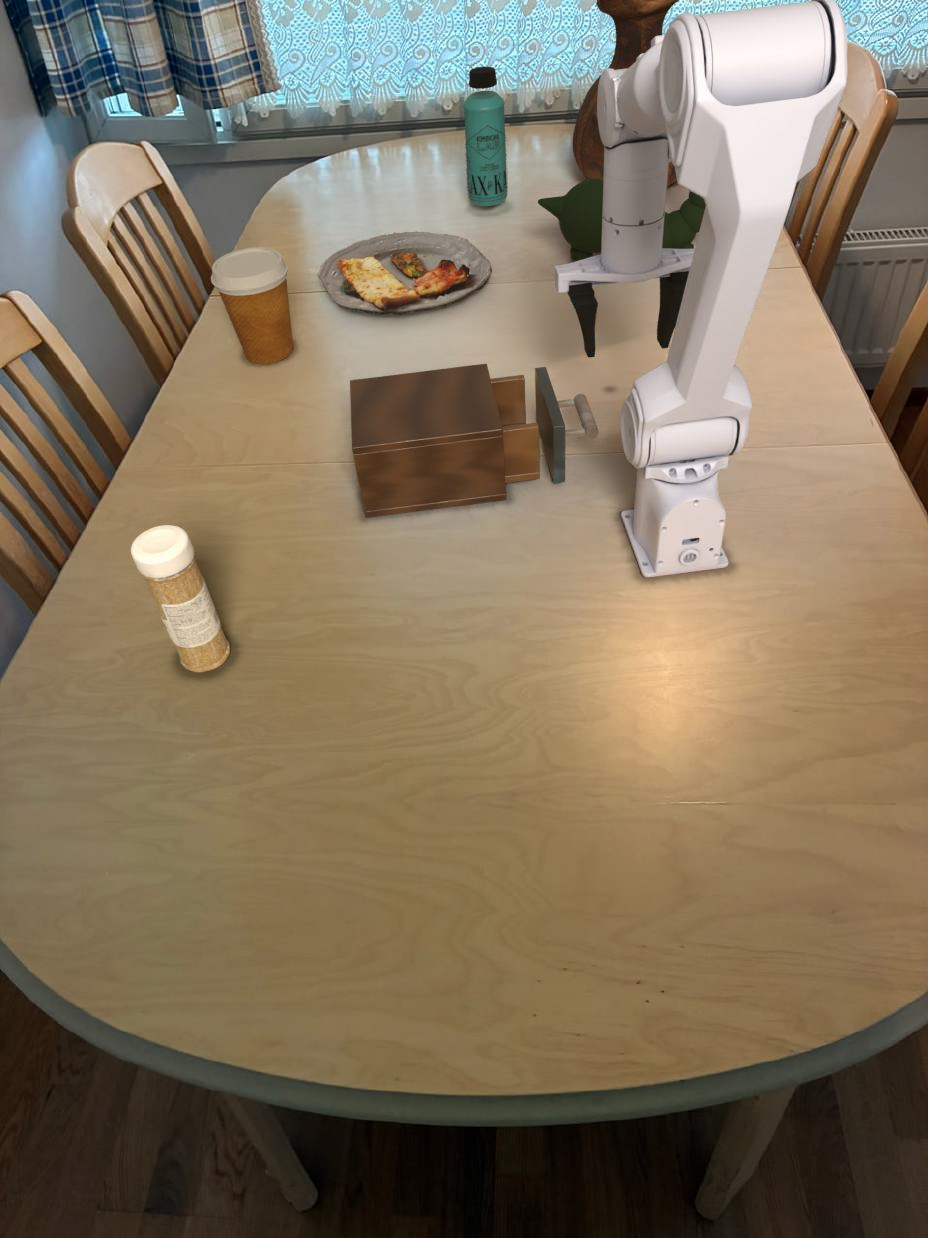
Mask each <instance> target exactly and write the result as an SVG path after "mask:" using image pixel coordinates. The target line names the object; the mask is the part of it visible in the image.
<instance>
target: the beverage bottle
mask: <svg viewBox="0 0 928 1238" xmlns="http://www.w3.org/2000/svg"><path fill="white" fill-rule="evenodd" d="M496 71H497V70H496V68H495V67H492V66H477V67H473V68H472V69H470V70H469V78H468V87H470V88H471V89H476V90H480V91H475V92H472V93H470V94H469V95H468V96H467V98H466V99H465V100H464V102H463V106H462V107H463V108H462V109H463V117H464V135H465V136H464V137H465V144H464V146H465V156H464V157H465V160H466V163H465V166H466V167H465V168H466V169H465V172H466V184H467V185H466V187H467V188H466V189H467V193H468V199H469V202H470V203H471V204H472V205H475V206H479V207H489V206H496V205H499V204H501V203H504V202H505V201H506V200H507V198H508V197H507V196H508V191H509V190H508V189H509V185H508V183H509V181H508V178H509V177H508V170H507V161H508V160H507V159H508V158H507V157H508V154H507V151H508V149H507V147H506V146H507V144H506V143H507V142H506V141H507V140H506V139H507V135H506V126H505V124H506V123H505V100H504V99H503V97H502V96H501V95H500V94H499V93H497V92H496V91H494V90H482V89H490V88H494V87H495V86H497V85H498V80H497V72H496Z"/></svg>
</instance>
